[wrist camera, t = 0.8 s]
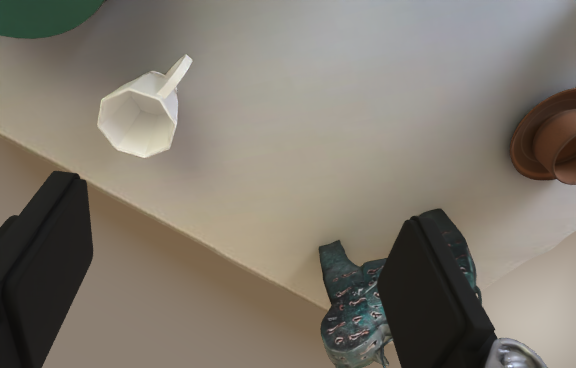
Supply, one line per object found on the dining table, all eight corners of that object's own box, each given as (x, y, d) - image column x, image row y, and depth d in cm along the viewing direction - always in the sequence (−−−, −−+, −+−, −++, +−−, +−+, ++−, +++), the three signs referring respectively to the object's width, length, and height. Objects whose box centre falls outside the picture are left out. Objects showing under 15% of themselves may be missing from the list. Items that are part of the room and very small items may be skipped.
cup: (108, 91, 42) (79, 126, 35) (165, 19, 38) (145, 44, 32) (164, 132, 45) (147, 172, 38) (222, 70, 41) (214, 102, 35)
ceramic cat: (317, 269, 59) (338, 409, 43) (302, 240, 56) (318, 380, 39) (450, 228, 56) (528, 362, 40) (443, 194, 52) (525, 327, 36)
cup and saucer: (631, 98, 46) (677, 123, 41) (559, 181, 52) (591, 211, 47) (547, 67, 43) (585, 89, 38) (483, 158, 49) (508, 187, 44)
